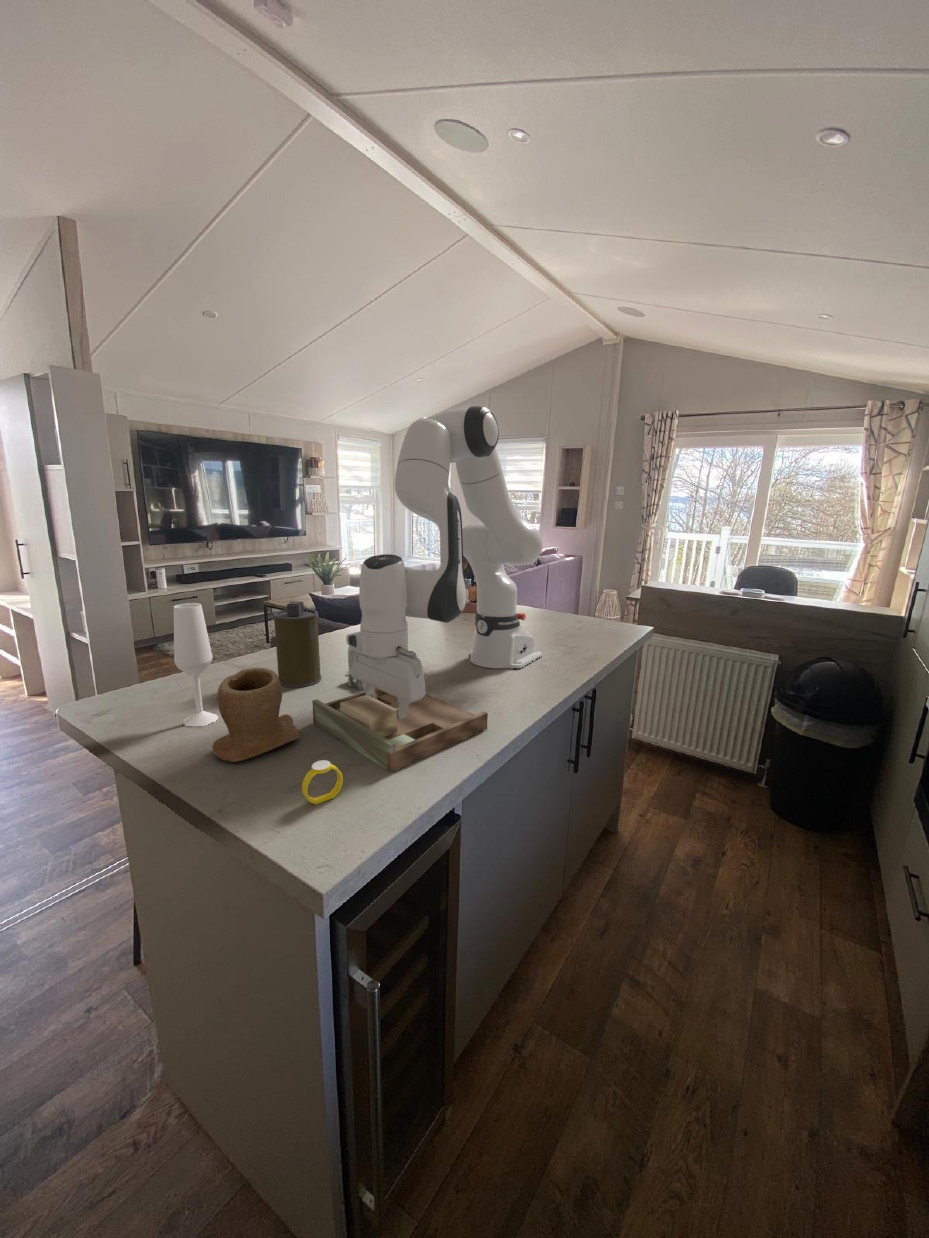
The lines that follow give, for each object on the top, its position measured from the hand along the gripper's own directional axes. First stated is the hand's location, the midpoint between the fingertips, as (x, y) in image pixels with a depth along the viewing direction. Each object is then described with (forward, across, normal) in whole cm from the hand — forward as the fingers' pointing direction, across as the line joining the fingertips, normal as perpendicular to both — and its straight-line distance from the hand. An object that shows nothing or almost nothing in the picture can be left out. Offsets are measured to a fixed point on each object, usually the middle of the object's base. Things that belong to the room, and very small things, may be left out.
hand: (385, 709), depth 97 cm
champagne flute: (+5, +30, +25) cm, 39 cm away
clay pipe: (+5, +10, +21) cm, 23 cm away
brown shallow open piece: (+5, 0, -3) cm, 6 cm away
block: (+3, 0, +4) cm, 5 cm away
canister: (+5, +38, -1) cm, 38 cm away
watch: (+5, -12, +21) cm, 24 cm away
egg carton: (+5, +25, -13) cm, 29 cm away
